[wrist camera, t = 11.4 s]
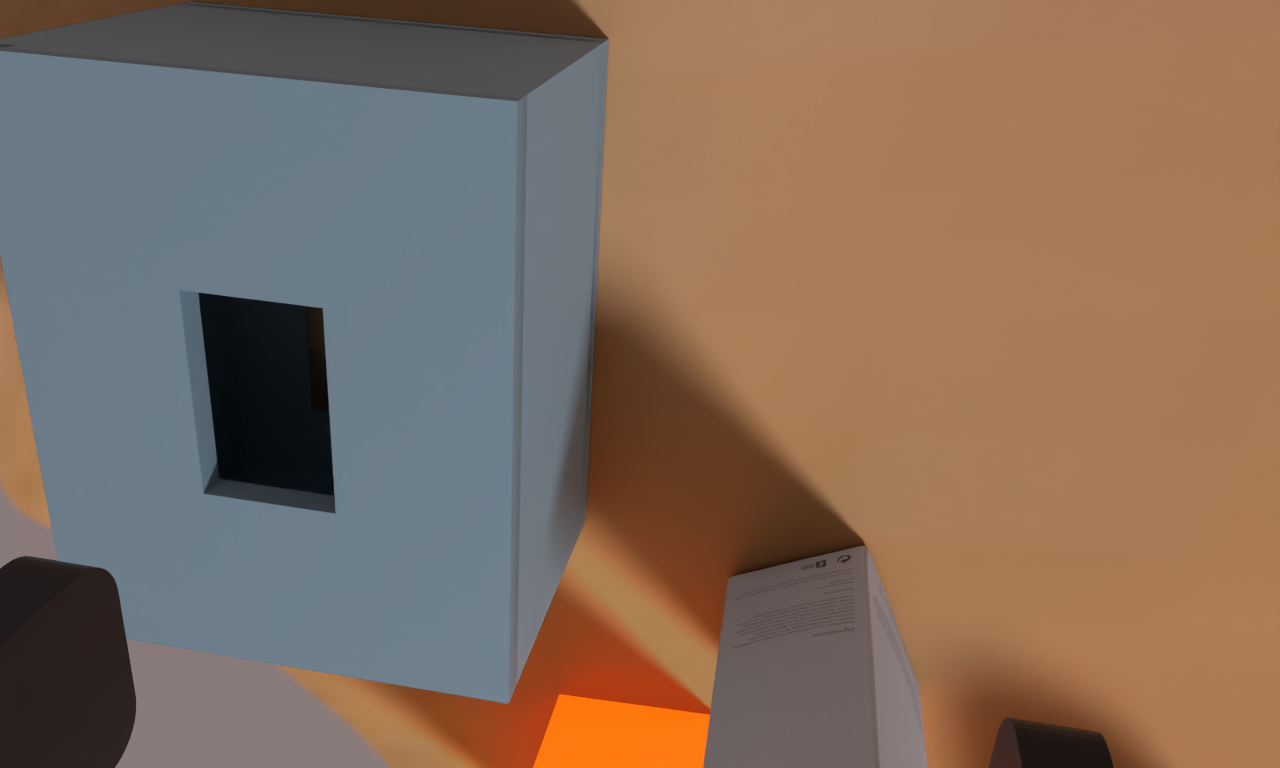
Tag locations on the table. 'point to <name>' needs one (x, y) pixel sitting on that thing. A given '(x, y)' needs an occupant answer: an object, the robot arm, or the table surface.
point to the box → (276, 327)
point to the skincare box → (813, 671)
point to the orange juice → (621, 736)
